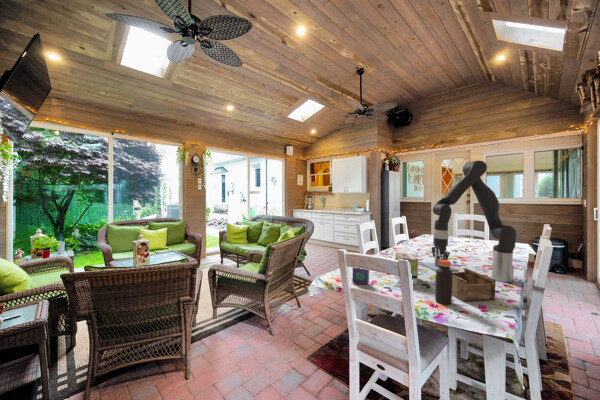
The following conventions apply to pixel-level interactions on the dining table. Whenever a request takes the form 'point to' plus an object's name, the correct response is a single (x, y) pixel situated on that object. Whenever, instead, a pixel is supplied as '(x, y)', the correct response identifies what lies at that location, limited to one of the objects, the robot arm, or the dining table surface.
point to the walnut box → (472, 286)
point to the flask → (360, 276)
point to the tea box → (413, 263)
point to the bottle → (444, 283)
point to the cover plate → (432, 266)
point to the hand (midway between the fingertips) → (439, 265)
